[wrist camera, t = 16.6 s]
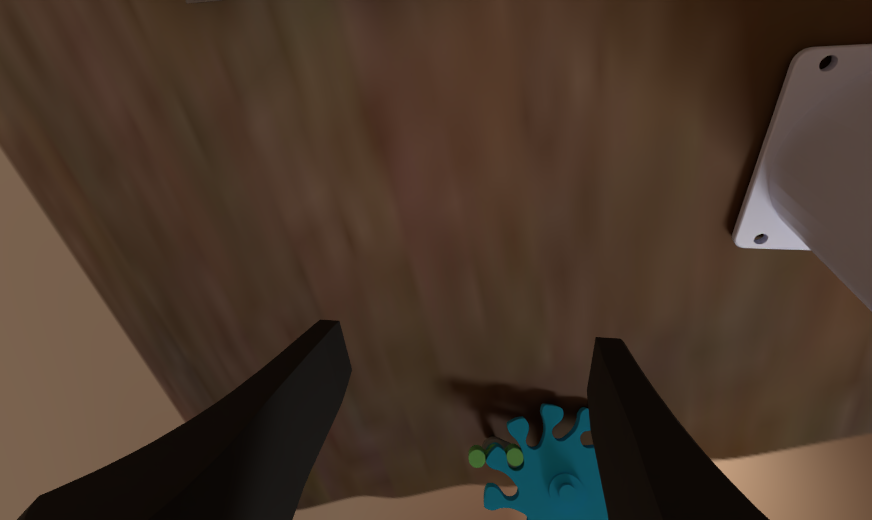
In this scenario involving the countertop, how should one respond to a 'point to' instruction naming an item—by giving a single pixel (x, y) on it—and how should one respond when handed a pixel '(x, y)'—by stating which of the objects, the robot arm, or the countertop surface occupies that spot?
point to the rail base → (197, 0)
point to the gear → (545, 470)
